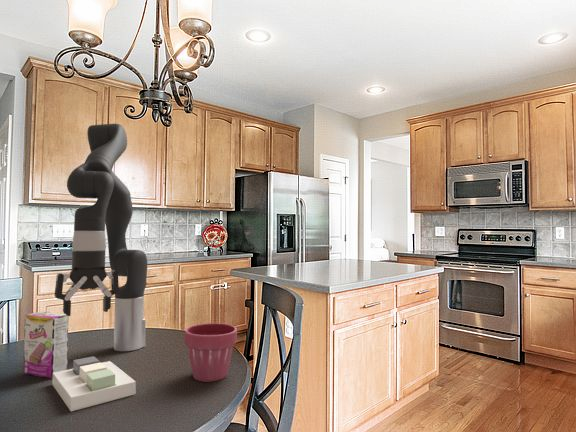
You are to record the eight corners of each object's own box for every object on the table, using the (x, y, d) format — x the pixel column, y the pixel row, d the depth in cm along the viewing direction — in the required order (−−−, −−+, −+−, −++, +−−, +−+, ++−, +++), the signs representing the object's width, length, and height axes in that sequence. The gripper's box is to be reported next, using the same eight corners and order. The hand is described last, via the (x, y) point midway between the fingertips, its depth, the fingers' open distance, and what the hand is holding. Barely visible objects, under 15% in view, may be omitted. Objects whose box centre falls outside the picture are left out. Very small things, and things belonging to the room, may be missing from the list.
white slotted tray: (109, 371, 109) (109, 361, 109) (135, 394, 94) (135, 381, 94) (52, 384, 100) (52, 372, 100) (70, 411, 85) (71, 397, 85)
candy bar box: (21, 374, 107) (23, 314, 108) (38, 368, 112) (40, 311, 112) (51, 379, 103) (53, 317, 104) (68, 373, 108) (69, 313, 109)
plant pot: (247, 375, 107) (247, 328, 107) (204, 390, 96) (204, 338, 97) (215, 363, 116) (216, 320, 117) (173, 375, 106) (174, 328, 107)
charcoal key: (93, 367, 105) (93, 356, 106) (99, 372, 102) (99, 360, 102) (73, 371, 102) (73, 360, 102) (77, 377, 98) (78, 365, 99)
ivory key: (100, 374, 101) (100, 362, 101) (106, 379, 97) (106, 367, 97) (79, 378, 97) (79, 366, 97) (84, 384, 94) (84, 371, 94)
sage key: (108, 381, 96) (108, 368, 96) (115, 387, 92) (115, 374, 92) (86, 386, 92) (86, 373, 93) (92, 393, 89) (92, 379, 89)
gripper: (114, 248, 106) (113, 308, 105) (54, 249, 97) (52, 314, 96) (122, 248, 100) (121, 312, 99) (59, 249, 91) (56, 319, 90)
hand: (87, 313), depth 98 cm, fingers open, 8 cm apart
